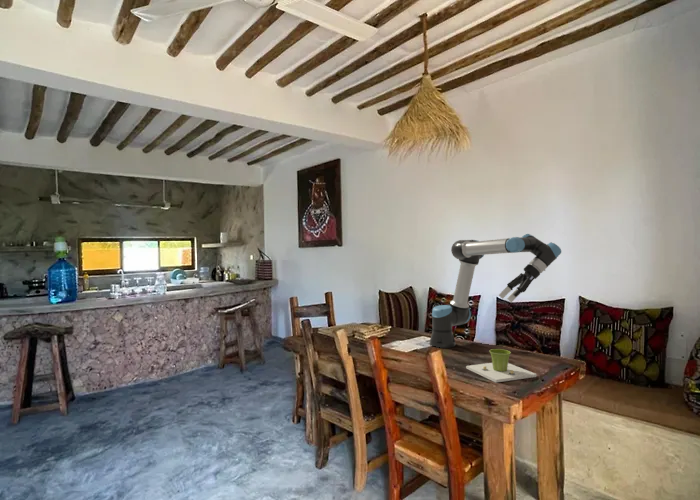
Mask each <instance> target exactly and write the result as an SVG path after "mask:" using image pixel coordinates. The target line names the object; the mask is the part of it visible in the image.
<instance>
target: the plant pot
mask: <svg viewBox="0 0 700 500" xmlns="http://www.w3.org/2000/svg"><path fill="white" fill-rule="evenodd" d="M488 352H489V353H490V355H491V363H492V364H493V369H494V370H496V371H502V372H503V371H507V367H508V363H509V359H510V357H511V356H510V355H511V353H512V352H511V351H510V350H507V349H502V348H492V349H490V350H489V351H488Z"/></svg>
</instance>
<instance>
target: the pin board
mask: <svg viewBox="0 0 700 500" xmlns="http://www.w3.org/2000/svg"><path fill="white" fill-rule="evenodd" d="M465 368H466V369H467V370H469V371H471V372H472V373H475V374H478V375H480V376H482V377H483V378H485V379H488V380H490V381H492V382H493V383H501V382H508V381H517V380H522V379H529V378H536V377H537V376H538V375H537V373H535V372H532V371H530V370H527V369H525V368H522V367H519V366H516V365H515V364H512V363H509V362H508V367H507V371H503V372H502V371H496V370H494V369H493V364H492V362H486V363H479V364H471V365H466V366H465Z"/></svg>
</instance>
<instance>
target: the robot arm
mask: <svg viewBox="0 0 700 500" xmlns="http://www.w3.org/2000/svg"><path fill="white" fill-rule="evenodd" d="M450 252H451V255H452V256H453V257H454V258H455V259H457V260H458V261H459V263H460V265H459V270H458V274H457V279H456V283H455V290H454V294H453V298H452V300H450V301H449V304H441V305H439V304H438V305H436V306H434V307H433V308H432V309H431V310H432V311H431V312H432V313H431V318H432V319H431V321H432V322H431V323H432V324H431V325H432V333H431V335H430V339H429V346H431V345H432V346H431V347H433V346H436V347H435V348H439V347H440V349H441V348H442V349H445V348H446V349H447V348H448V349H449V348H454V347H456V340H455V336H454V334H453V327H454V326H461V325H464V324H466V323H468V322H469V321H470V320H471V317H472V311H471V309H470V305H469V303H468V301H469V297H470V291H471V286H472V282H473V278H474V275H475V274H474V273H475V270H476V269H475V268H476V266H478V265H479V262H480V260H481V259H483V258H484V256H486V255H496V254H509V253H510V254H513V253H514V254H515V253H530V254H533V255H534V257H533V259H531V261H530V262H529V263H528V264H527V265H526V266H524V268H523V271H524V272H521V273H519V274H518V275H517V276H515V278H514V279H512V280H511V281H509V282H508V283H507V286H506V287H505V288H504V289H503V290H502V291H500V293H499V294H498V296H499V297H500V298H501V299H504V298H505V297H507V298H506V299H507V300H508V301H509V302H510V303H513V302H514V301H515V299H516V298H517V297H519V296H520V295H521V294H522V293H525V292H526V291H527V289H528V288H529V286H530V285H531V284H532V282H533V281H534V280H536V279H538V277H540V275H541V274H542V273H543V272H546V269H547V268H548V267H549V266H550V265H551V264H552V263H553V262H554V261H555V260H557V258H558V257H559V256H560V255H561V254H562V249H561V247H560V246H559V245H557V244H556V243H555V242H549V243H547V244H546V243H544V242H543V241H541V240H540V239H538V238H536V236H534V235H532V234H530V233H525V234H524V235H522V236H521V237H519V236H515V237H514V236H513V237H508V238H500V239H499V238H497V239H489V240H487V239H486V240H475V239H460V240H456V241H455V242H454V243H453V244H452V246H451V251H450ZM517 286H518V287H517ZM515 288H516V289H515ZM513 289H515V290H514V291H513ZM511 291H512V292H511ZM510 292H511V294H509V293H510ZM508 294H509V296H507V295H508Z"/></svg>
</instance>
